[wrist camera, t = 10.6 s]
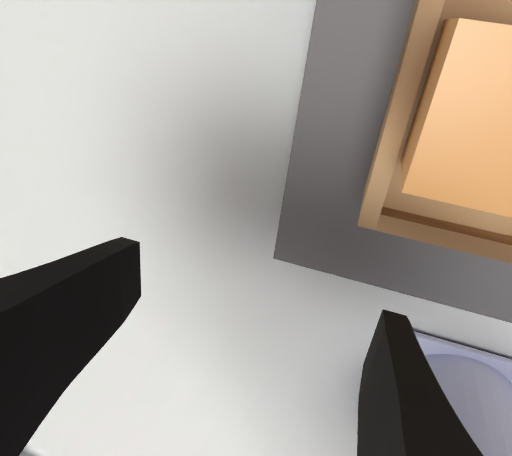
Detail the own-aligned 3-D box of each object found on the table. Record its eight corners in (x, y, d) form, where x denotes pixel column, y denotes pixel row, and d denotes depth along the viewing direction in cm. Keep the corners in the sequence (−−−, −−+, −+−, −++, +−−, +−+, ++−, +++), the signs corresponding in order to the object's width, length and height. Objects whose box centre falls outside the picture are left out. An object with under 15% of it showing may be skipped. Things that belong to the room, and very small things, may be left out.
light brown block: (518, 183, 12) (551, 226, 10) (400, 158, 13) (401, 192, 10) (587, 39, 10) (651, 44, 8) (444, 18, 11) (459, 17, 8)
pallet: (504, 218, 16) (531, 268, 12) (364, 187, 17) (357, 226, 14) (638, -65, 11) (732, -97, 8) (437, -81, 12) (452, -117, 9)
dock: (524, 291, 20) (544, 331, 17) (287, 231, 22) (273, 258, 20) (815, -232, 11) (941, -308, 8) (372, -236, 13) (366, -296, 11)
